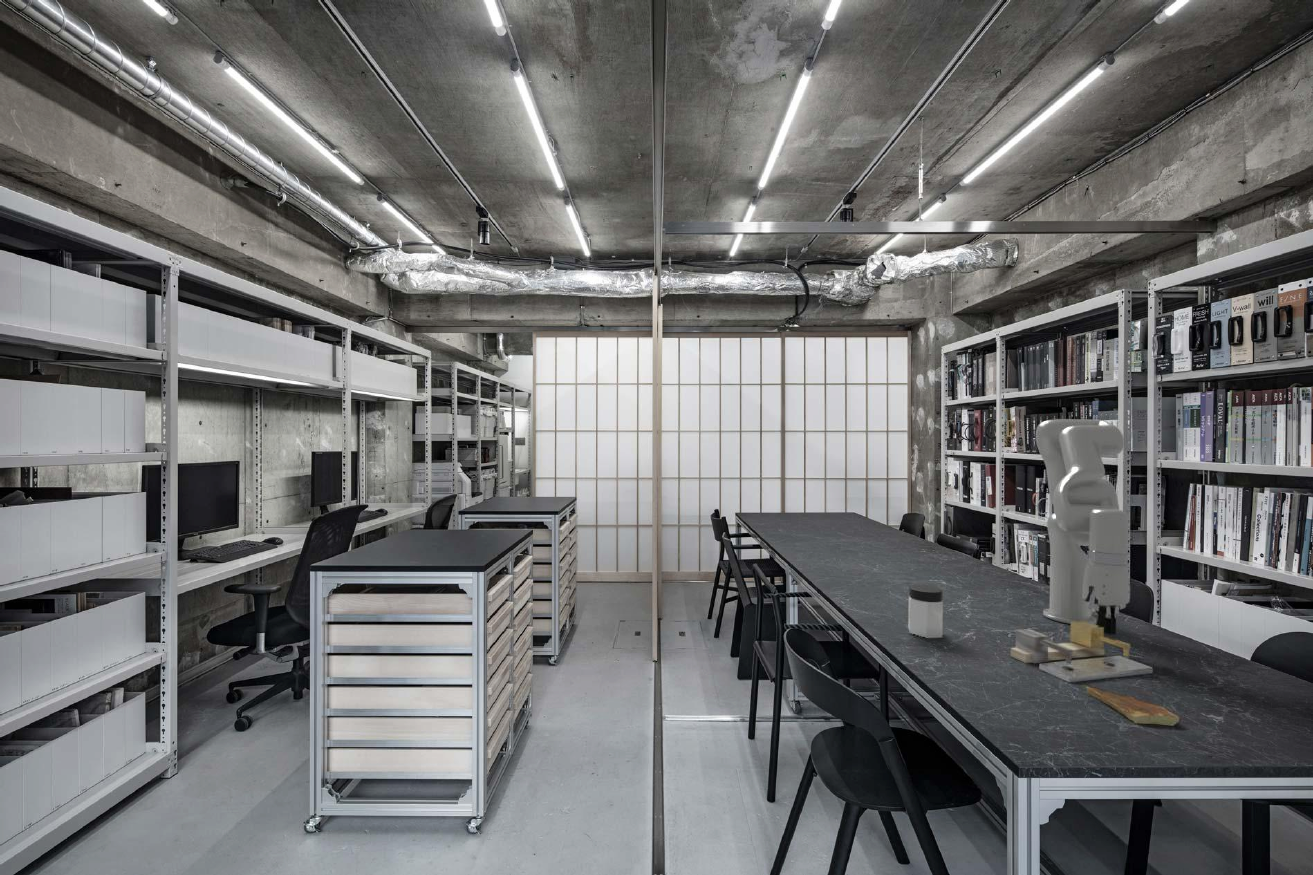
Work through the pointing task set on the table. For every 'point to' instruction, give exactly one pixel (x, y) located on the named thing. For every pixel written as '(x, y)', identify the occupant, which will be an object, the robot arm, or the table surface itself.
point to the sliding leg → (1094, 636)
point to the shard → (1135, 708)
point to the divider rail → (1048, 648)
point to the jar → (925, 611)
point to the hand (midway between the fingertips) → (1106, 632)
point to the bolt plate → (1095, 668)
